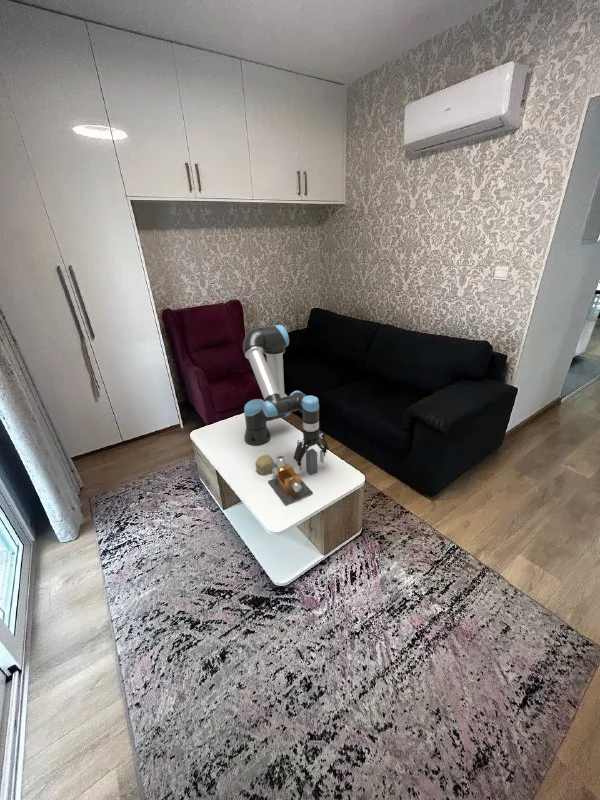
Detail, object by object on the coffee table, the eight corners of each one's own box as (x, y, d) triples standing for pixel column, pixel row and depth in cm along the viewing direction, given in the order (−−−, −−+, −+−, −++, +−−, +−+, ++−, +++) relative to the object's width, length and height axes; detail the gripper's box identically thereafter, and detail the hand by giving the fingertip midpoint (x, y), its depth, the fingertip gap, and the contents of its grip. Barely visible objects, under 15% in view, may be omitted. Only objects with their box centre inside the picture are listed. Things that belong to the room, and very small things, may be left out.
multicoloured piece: (265, 478, 160) (263, 458, 155) (290, 469, 166) (289, 449, 161) (285, 505, 143) (283, 484, 138) (312, 494, 149) (312, 473, 144)
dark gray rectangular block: (306, 470, 165) (305, 451, 159) (313, 468, 166) (312, 448, 161) (310, 475, 162) (310, 455, 156) (317, 472, 163) (317, 452, 158)
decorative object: (262, 482, 164) (271, 471, 158) (248, 467, 165) (256, 456, 160) (272, 472, 171) (281, 461, 166) (259, 459, 173) (267, 448, 167)
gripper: (292, 439, 145) (294, 478, 154) (336, 424, 155) (335, 462, 165) (284, 431, 151) (286, 470, 160) (327, 418, 161) (327, 454, 171)
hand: (311, 466), depth 162 cm, fingers open, 11 cm apart
